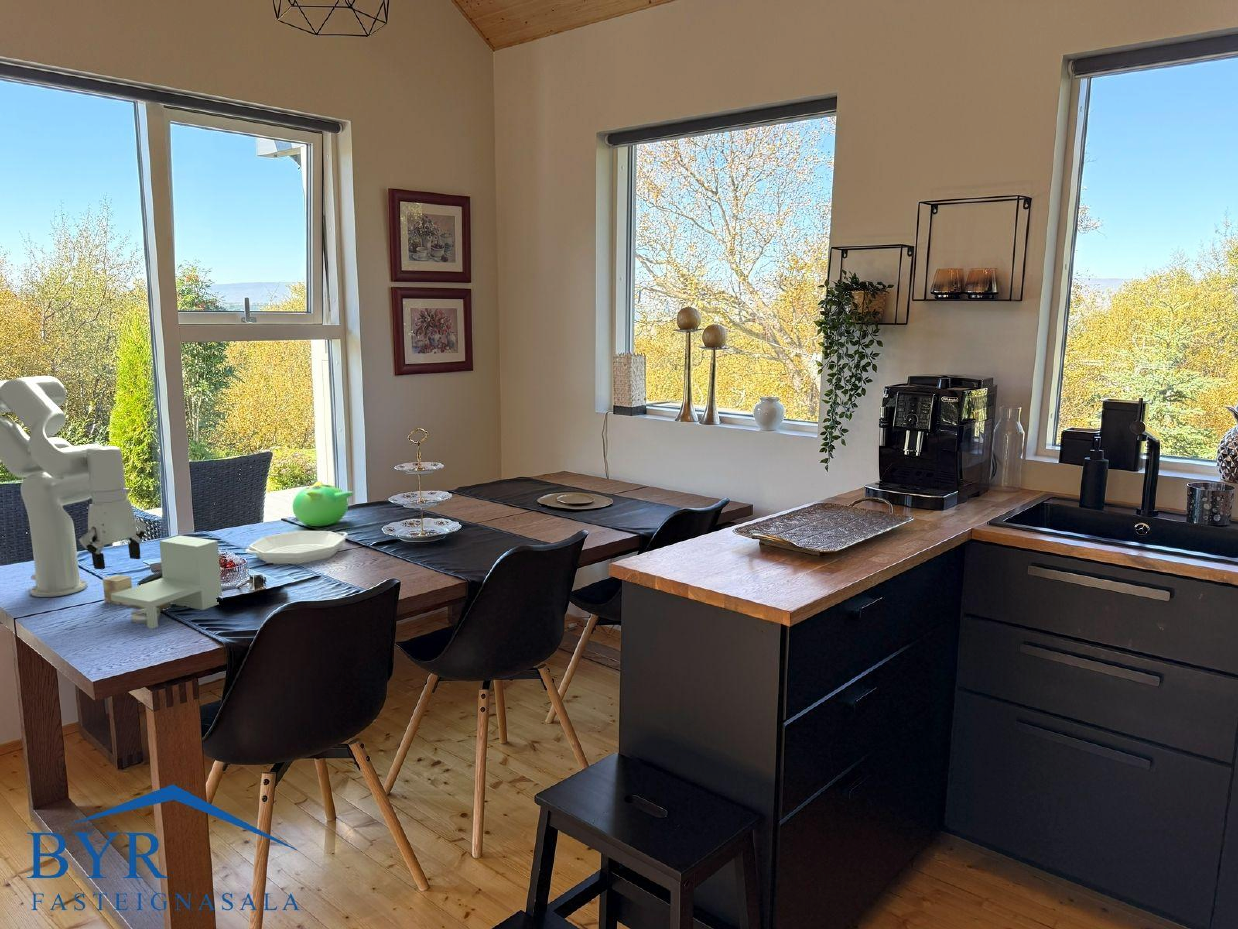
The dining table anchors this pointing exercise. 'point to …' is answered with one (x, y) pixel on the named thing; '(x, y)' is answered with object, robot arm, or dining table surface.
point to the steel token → (142, 616)
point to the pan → (297, 547)
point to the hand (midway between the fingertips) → (117, 563)
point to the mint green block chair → (153, 577)
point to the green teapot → (321, 504)
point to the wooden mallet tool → (120, 584)
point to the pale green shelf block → (180, 578)
